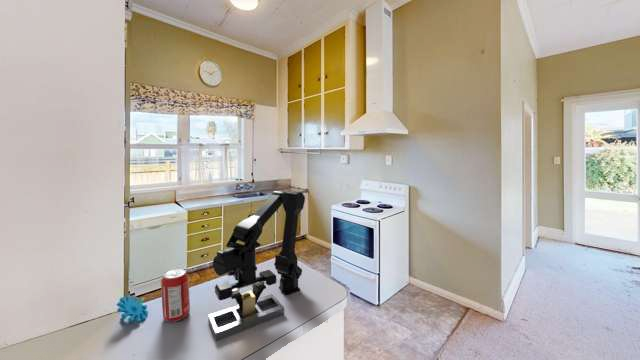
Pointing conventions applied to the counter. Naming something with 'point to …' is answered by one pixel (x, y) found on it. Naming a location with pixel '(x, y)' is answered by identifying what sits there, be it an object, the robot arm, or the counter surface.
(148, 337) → the counter surface
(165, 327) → the counter surface
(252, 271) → the robot arm
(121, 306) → the gear
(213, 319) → the tray
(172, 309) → the soda can
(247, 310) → the brass block
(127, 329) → the counter surface
